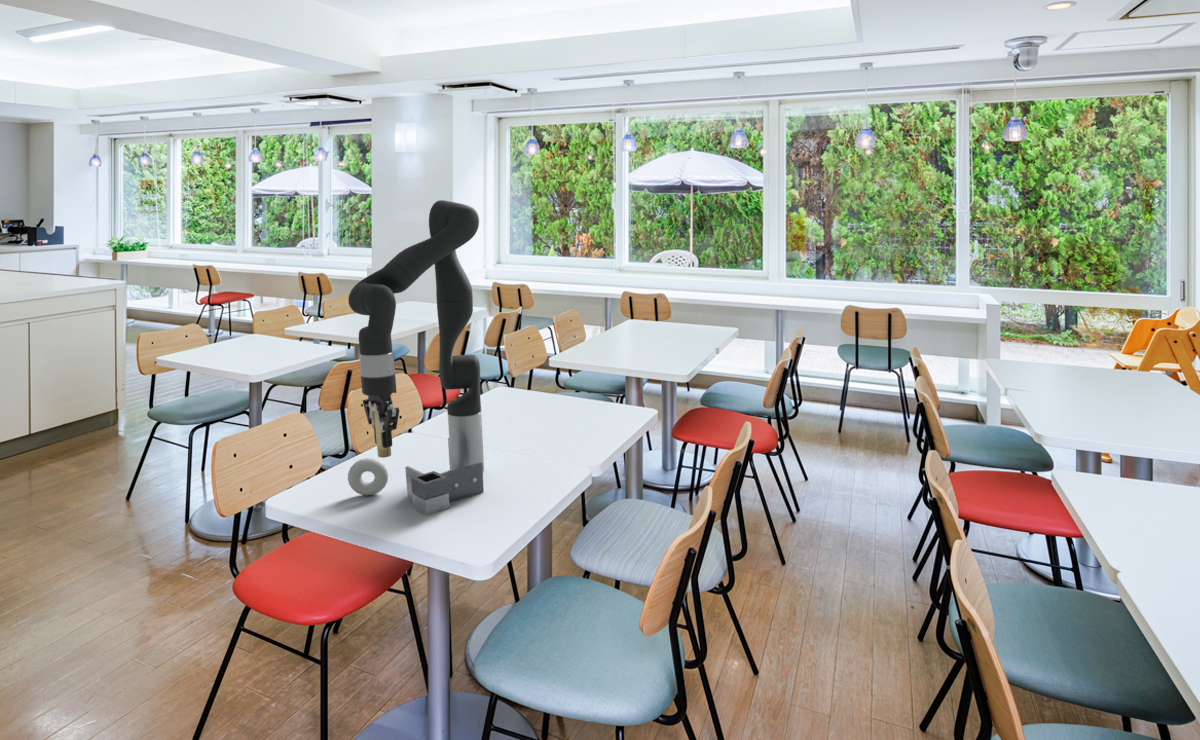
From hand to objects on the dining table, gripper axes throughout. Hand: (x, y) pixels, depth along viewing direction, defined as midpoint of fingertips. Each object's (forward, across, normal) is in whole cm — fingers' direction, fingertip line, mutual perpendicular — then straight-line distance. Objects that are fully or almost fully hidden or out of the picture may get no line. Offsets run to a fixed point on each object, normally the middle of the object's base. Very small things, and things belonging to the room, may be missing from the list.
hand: (383, 444), depth 166 cm
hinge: (+19, +4, -17) cm, 26 cm away
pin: (+3, 0, 0) cm, 3 cm away
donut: (+19, +19, -4) cm, 27 cm away
